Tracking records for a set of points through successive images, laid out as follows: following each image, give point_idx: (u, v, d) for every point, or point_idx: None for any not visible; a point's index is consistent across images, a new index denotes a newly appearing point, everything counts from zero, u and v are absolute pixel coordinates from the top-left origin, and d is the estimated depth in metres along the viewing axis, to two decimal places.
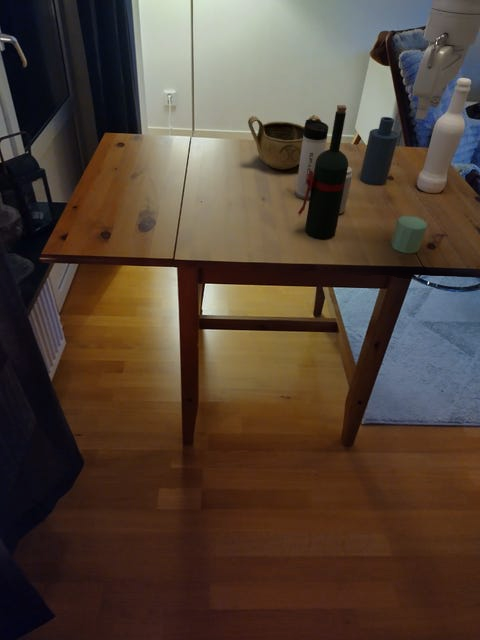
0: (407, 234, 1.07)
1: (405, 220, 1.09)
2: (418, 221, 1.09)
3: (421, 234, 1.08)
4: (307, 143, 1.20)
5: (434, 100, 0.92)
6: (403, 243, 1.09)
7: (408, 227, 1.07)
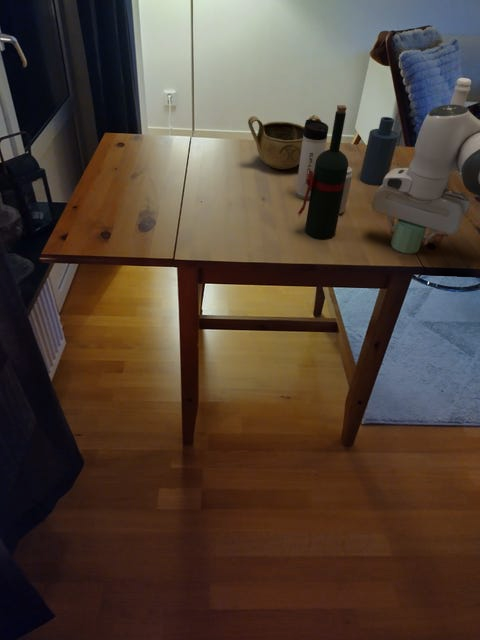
0: (407, 234, 1.07)
1: None
2: None
3: (421, 234, 1.08)
4: (307, 143, 1.20)
5: None
6: (403, 243, 1.09)
7: (408, 227, 1.07)
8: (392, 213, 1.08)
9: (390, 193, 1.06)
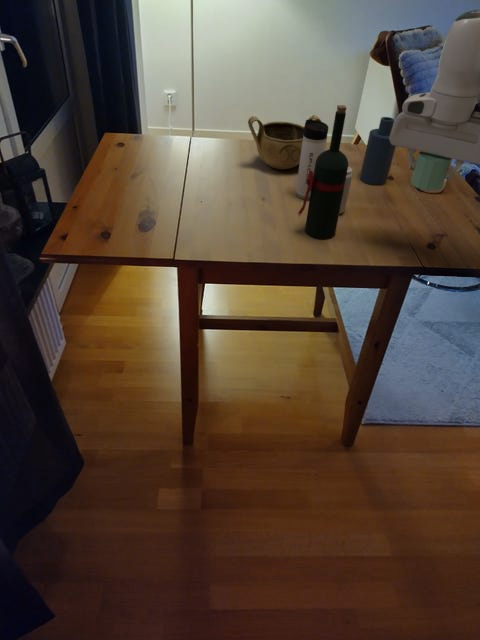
0: (430, 167, 0.97)
1: (427, 153, 0.99)
2: None
3: (445, 167, 0.97)
4: (307, 143, 1.20)
5: (415, 164, 1.01)
6: (425, 179, 0.99)
7: (431, 159, 0.96)
8: (412, 145, 0.98)
9: (410, 121, 0.95)
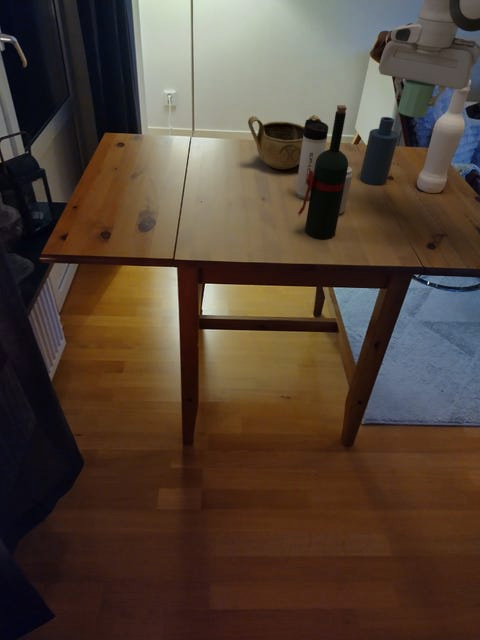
0: (415, 93, 1.05)
1: (413, 81, 1.07)
2: None
3: (429, 94, 1.06)
4: (307, 143, 1.20)
5: None
6: (411, 105, 1.07)
7: (416, 85, 1.05)
8: (400, 73, 1.06)
9: (398, 49, 1.04)
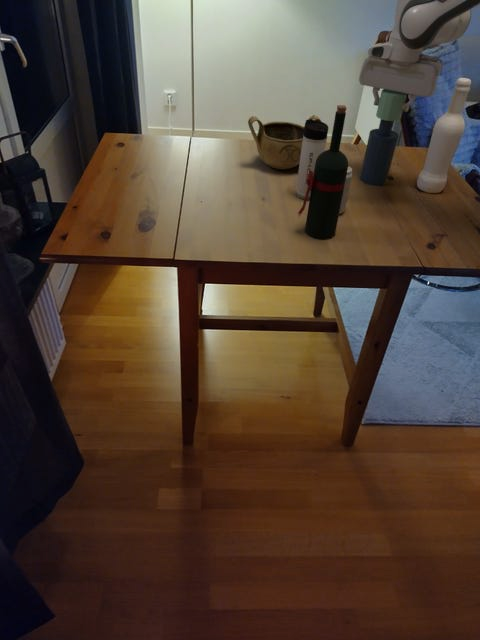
0: (390, 100, 1.23)
1: (388, 90, 1.25)
2: None
3: (401, 101, 1.24)
4: (307, 143, 1.20)
5: None
6: (386, 111, 1.25)
7: (390, 94, 1.23)
8: (376, 83, 1.24)
9: (374, 64, 1.22)
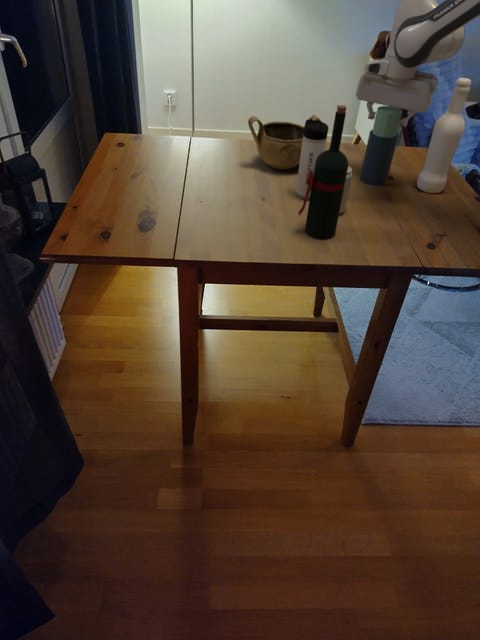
0: (385, 118, 1.26)
1: (384, 108, 1.28)
2: (394, 109, 1.28)
3: (397, 118, 1.27)
4: (307, 143, 1.20)
5: (374, 114, 1.31)
6: (382, 128, 1.28)
7: (386, 112, 1.26)
8: (373, 99, 1.27)
9: (371, 79, 1.25)
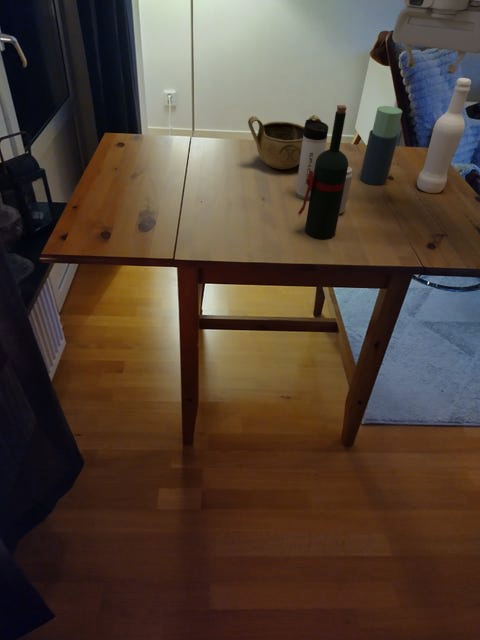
0: (385, 118, 1.26)
1: (384, 108, 1.28)
2: (394, 109, 1.28)
3: (397, 118, 1.27)
4: (307, 143, 1.20)
5: (414, 61, 1.08)
6: (382, 128, 1.28)
7: (386, 112, 1.26)
8: (414, 40, 1.04)
9: (412, 15, 1.02)
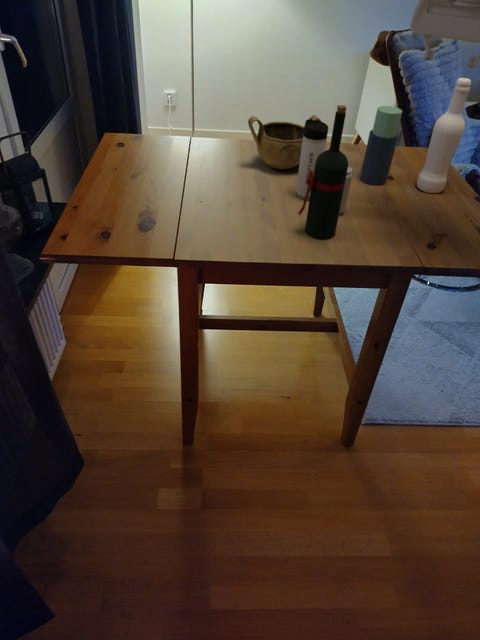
0: (385, 118, 1.26)
1: (384, 108, 1.28)
2: (394, 109, 1.28)
3: (397, 118, 1.27)
4: (307, 143, 1.20)
5: (432, 53, 1.00)
6: (382, 128, 1.28)
7: (386, 112, 1.26)
8: (434, 30, 0.96)
9: (432, 3, 0.94)
